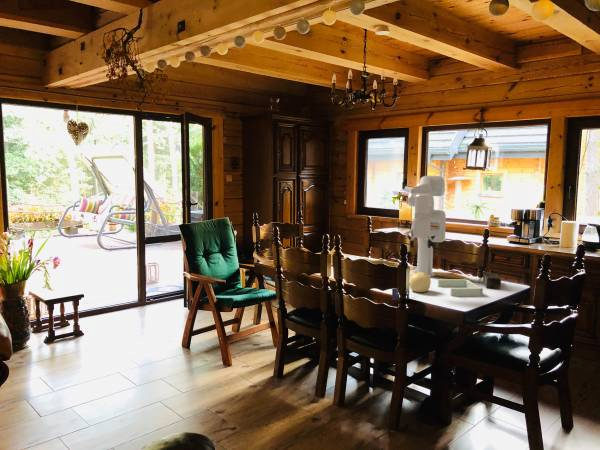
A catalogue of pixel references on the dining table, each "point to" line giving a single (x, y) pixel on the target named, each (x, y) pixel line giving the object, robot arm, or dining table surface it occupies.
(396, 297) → the flask
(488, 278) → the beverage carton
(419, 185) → the robot arm
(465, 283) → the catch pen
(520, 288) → the dining table surface
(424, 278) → the pale yellow ball
